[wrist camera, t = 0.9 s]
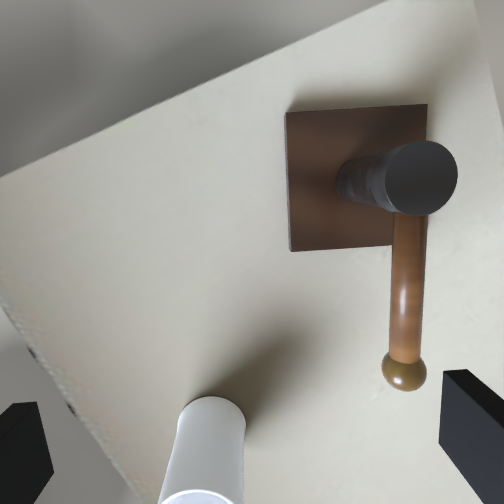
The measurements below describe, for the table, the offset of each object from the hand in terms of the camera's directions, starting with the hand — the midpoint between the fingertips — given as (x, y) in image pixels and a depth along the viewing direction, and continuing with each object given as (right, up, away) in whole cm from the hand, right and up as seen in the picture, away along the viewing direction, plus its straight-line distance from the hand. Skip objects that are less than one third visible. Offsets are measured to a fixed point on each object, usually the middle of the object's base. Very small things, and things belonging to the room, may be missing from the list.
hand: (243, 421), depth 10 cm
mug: (-4, -18, +30) cm, 35 cm away
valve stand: (+11, +13, +23) cm, 29 cm away
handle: (+12, +4, +14) cm, 19 cm away
